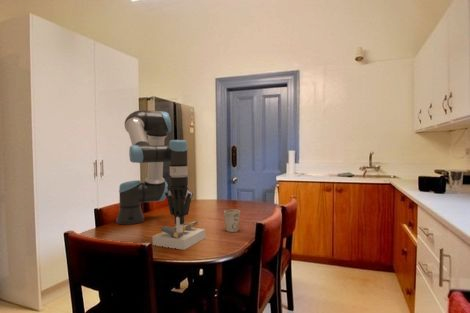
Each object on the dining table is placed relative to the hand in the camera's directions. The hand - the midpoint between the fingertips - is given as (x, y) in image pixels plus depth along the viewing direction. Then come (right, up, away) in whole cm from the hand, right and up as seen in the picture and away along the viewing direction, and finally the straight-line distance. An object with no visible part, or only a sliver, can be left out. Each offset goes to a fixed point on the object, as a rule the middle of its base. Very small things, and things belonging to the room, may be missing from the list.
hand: (179, 231), depth 125 cm
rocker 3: (+1, 0, +13) cm, 13 cm away
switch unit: (-1, -6, +7) cm, 9 cm away
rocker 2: (-1, 0, +7) cm, 7 cm away
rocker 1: (-4, 0, +2) cm, 4 cm away
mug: (+21, -6, +27) cm, 35 cm away
